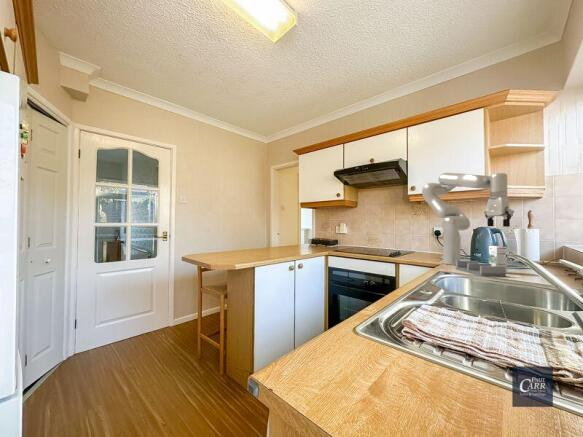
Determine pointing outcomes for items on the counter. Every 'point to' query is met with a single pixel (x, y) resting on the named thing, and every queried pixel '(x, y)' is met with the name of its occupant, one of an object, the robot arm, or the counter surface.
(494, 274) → the slot rack
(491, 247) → the syrup box
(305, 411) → the counter surface
